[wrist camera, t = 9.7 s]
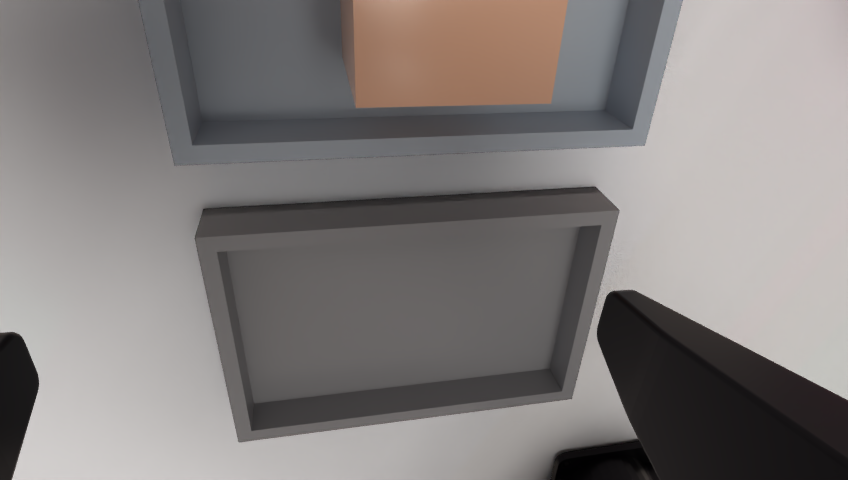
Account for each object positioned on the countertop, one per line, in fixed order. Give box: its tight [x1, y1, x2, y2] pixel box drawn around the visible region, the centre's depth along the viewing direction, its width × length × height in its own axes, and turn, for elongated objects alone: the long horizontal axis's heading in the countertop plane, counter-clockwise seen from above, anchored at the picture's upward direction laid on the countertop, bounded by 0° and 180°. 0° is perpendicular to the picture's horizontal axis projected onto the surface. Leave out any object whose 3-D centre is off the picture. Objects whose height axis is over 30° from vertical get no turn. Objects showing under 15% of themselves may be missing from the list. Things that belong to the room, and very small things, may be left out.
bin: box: [195, 187, 619, 442], centre depth 23 cm, size 15×10×2 cm
